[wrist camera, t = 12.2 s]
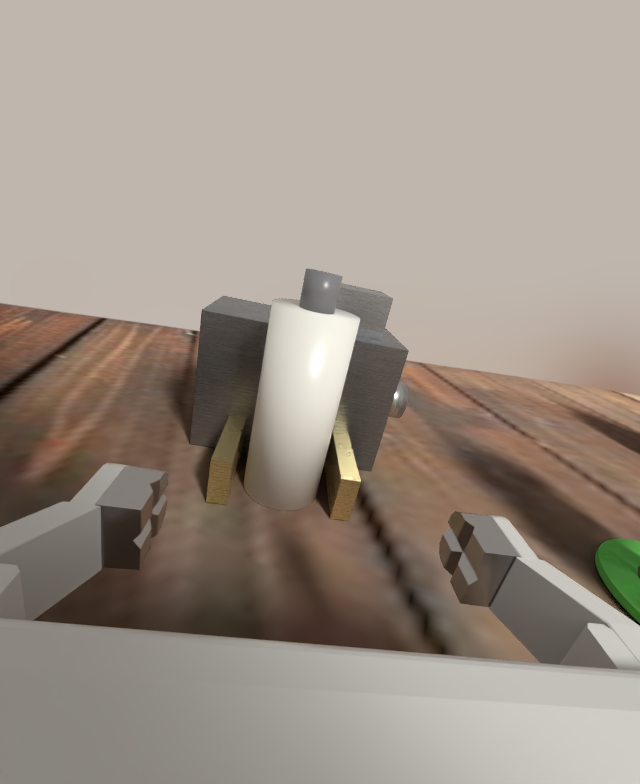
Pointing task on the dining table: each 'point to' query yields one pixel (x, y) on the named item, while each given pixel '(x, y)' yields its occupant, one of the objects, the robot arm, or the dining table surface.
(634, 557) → the mushroom figurine
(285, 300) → the white bottle
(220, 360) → the motor
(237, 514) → the dining table surface
